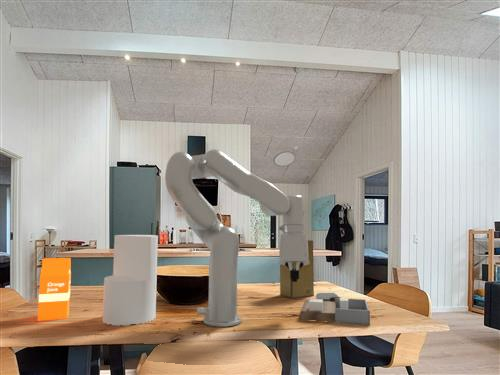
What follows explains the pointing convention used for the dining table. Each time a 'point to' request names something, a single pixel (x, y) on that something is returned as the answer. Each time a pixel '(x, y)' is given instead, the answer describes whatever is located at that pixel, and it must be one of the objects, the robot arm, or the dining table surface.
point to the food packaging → (303, 284)
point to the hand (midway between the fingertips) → (294, 281)
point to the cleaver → (327, 296)
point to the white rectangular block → (315, 305)
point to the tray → (353, 312)
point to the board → (319, 312)
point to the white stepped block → (131, 281)
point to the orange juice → (54, 289)
